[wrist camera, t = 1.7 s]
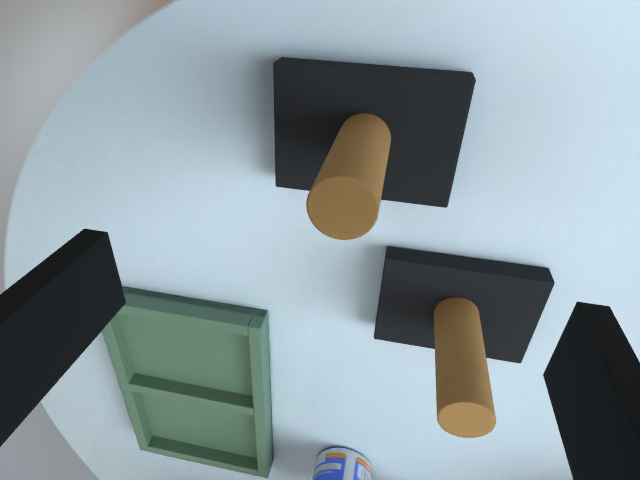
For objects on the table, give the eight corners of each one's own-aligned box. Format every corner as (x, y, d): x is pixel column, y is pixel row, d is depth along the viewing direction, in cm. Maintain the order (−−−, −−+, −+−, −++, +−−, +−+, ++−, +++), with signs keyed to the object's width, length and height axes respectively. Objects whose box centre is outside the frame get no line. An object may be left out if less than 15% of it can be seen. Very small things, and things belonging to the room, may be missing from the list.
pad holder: (106, 284, 36) (91, 299, 34) (268, 310, 34) (260, 328, 32) (150, 432, 47) (139, 450, 45) (273, 459, 45) (267, 478, 43)
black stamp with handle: (280, 57, 24) (209, 105, 16) (473, 72, 22) (500, 134, 14) (282, 176, 27) (225, 264, 19) (446, 196, 26) (456, 299, 18)
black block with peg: (386, 245, 28) (373, 354, 21) (549, 268, 27) (600, 394, 19) (375, 324, 32) (360, 441, 24) (517, 347, 31) (549, 480, 23)
